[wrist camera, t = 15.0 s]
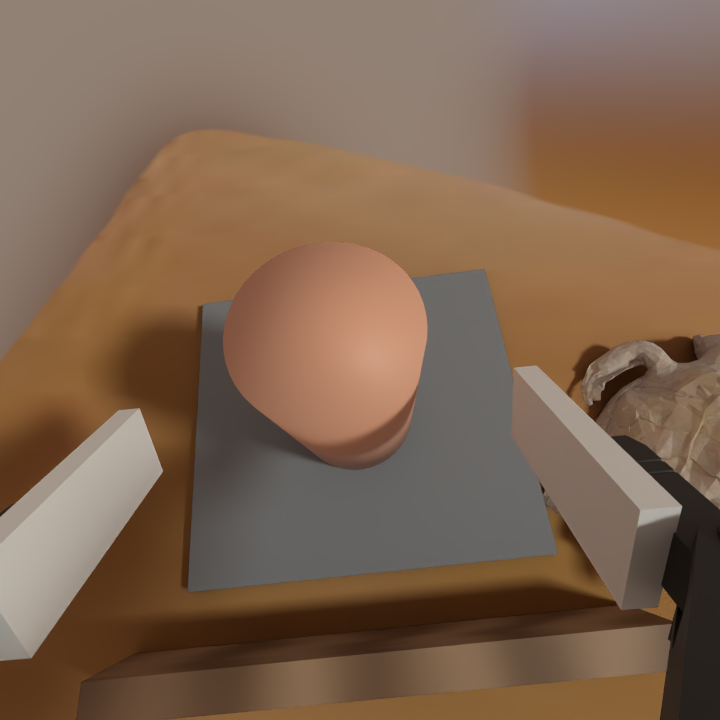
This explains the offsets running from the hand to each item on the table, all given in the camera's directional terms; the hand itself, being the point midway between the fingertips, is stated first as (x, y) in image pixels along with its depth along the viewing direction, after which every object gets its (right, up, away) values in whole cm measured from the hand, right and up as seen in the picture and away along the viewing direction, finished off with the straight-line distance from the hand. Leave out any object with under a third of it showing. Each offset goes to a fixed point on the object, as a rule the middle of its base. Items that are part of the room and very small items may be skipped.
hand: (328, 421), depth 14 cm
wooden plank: (+2, -13, +7) cm, 14 cm away
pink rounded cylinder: (+1, -1, +11) cm, 11 cm away
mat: (+1, -1, +11) cm, 11 cm away
